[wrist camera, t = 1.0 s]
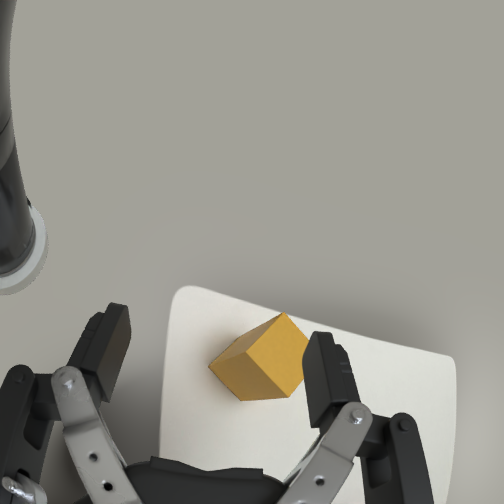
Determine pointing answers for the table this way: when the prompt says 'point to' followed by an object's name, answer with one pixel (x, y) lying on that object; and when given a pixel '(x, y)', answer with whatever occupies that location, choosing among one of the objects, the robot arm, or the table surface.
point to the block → (264, 361)
